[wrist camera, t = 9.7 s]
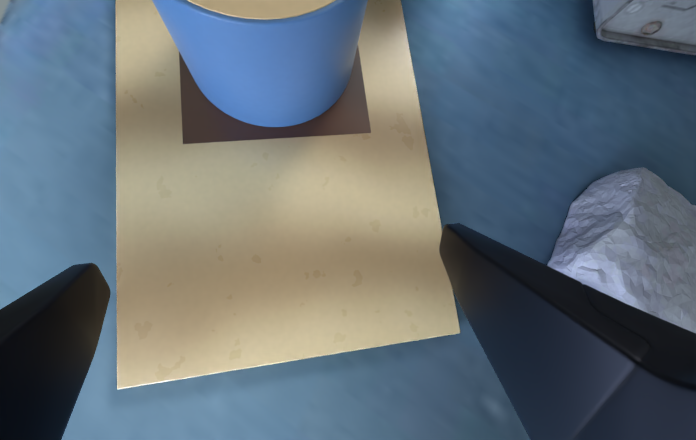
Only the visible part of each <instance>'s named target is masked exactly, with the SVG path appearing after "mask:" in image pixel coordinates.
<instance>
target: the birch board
mask: <svg viewBox="0 0 696 440" xmlns="http://www.w3.org/2000/svg"><path fill="white" fill-rule="evenodd" d="M116 235H117V389H125V388H131V387H137V386H143V385H149V384H155V383H161V382H167V381H173V380H180V379H186V378H192V377H198V376H204V375H210V374H216V373H222V372H228V371H234V370H240V369H246V368H252V367H258V366H264V365H270V364H276V363H282V362H289V361H295V360H301V359H307V358H313V357H319V356H325V355H331V354H337V353H343V352H349V351H355V350H361V349H367V348H373V347H379V346H385V345H391V344H398V343H404V342H410V341H416V340H422V339H428V338H434V337H440V336H446V335H452V334H458V333H460V327H459V321H458V316H457V310H456V305H455V299H454V293H453V288H452V285H451V282H450V280H449V277H448V275H447V272H446V269H445V267H444V264H443V262H442V259H441V257H440V253H439V246H440V241H441V236H442V227H441V221H440V215H439V210H438V204H437V199H436V193H435V188H434V182H433V176H432V171H431V165H430V160H429V154H428V149H427V143H426V137H425V132H424V126H423V121H422V115H421V110H420V104H419V98H418V93H417V87H416V82H415V76H414V71H413V65H412V60H411V54H410V48H409V43H408V37H407V32H406V26H405V21H404V15H403V9H402V4H401V0H368V2H367V6H366V10H365V15H364V19H363V23H362V28H361V32H360V36H359V41H358V45H357V49H356V54H355V58H354V62H353V67H352V71H351V75H350V79H349V81H348V84H347V86H346V88H345V90H344V92H343V93H342V95H341V96H340V98H339V99H338V100H337V101H336V103H334V104H333V105H332V106H331V107H330V108H329V109H328V110H327V111H325V112H324V113H322V114H321V115H319V116H317V117H315V118H314V119H312V120H309V121H307V122H304V123H301V124H297V125H293V126H286V127H264V126H257V125H253V124H249V123H246V122H243V121H240V120H238V119H235V118H233V117H231V116H230V115H228V114H226V113H224V112H223V111H221V110H220V109H219V108H217V107H216V106H215V105H214V104H212V103H211V102H210V101H209V100H208V99H207V98H206V96H205V95H204V94H203V93H202V92H201V90H200V89H199V87H198V85H197V84H196V82H195V80H194V79H193V77H192V75H191V73H190V71H189V69H188V67H187V65H186V63H185V62H184V60H183V58H182V56H181V54H180V52H179V50H178V48H177V46H176V45H175V43H174V41H173V39H172V37H171V35H170V33H169V31H168V29H167V28H166V26H165V24H164V22H163V20H162V18H161V16H160V14H159V12H158V11H157V9H156V7H155V5H154V3H153V1H152V0H116Z"/></svg>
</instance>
